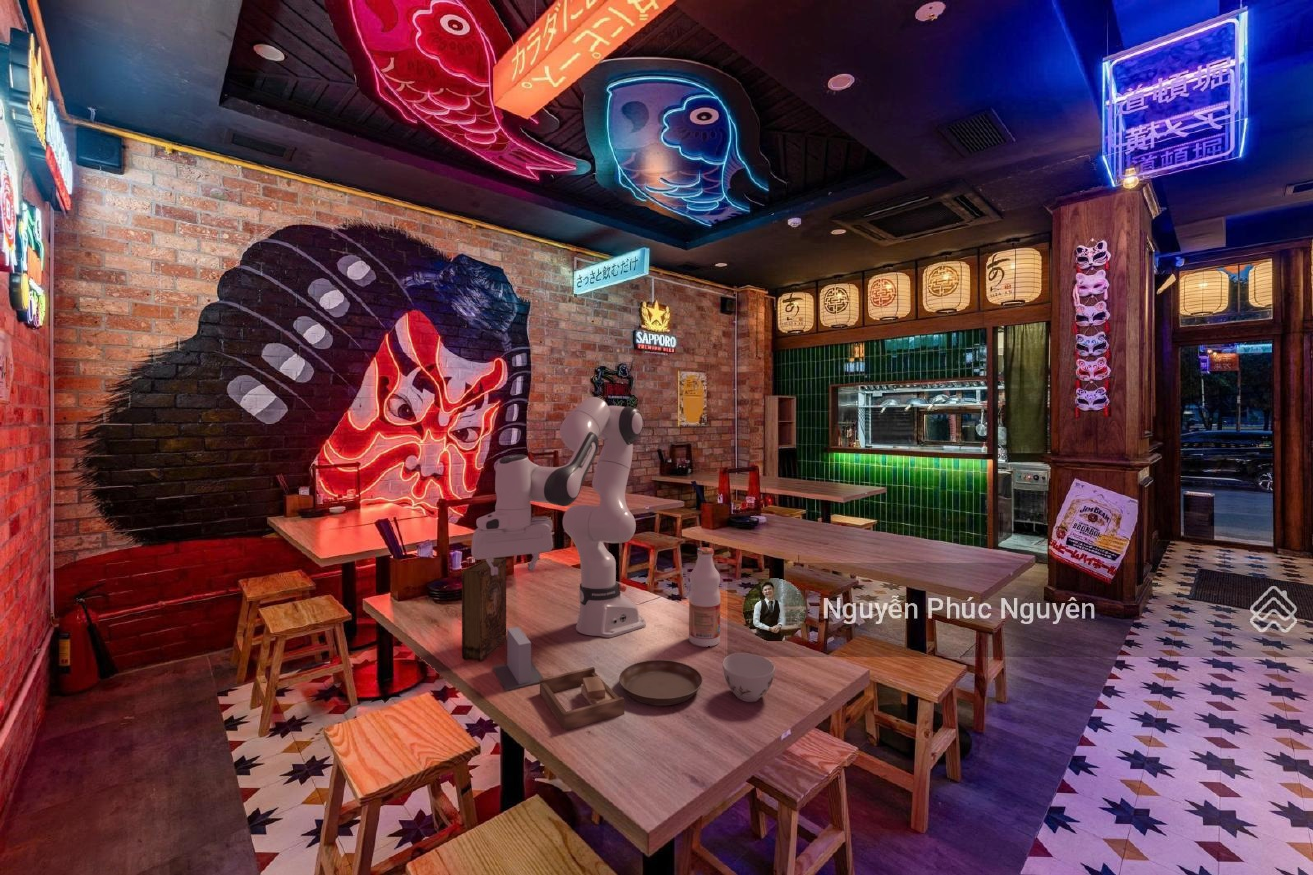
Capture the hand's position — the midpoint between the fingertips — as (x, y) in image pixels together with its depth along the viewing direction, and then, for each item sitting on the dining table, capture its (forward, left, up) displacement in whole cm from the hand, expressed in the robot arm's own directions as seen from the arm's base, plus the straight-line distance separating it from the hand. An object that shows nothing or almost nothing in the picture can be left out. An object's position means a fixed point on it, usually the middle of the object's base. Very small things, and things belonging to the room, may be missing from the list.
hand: (513, 572), depth 138 cm
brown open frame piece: (-11, +20, -27) cm, 36 cm away
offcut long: (-15, +20, -28) cm, 37 cm away
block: (-2, -1, -27) cm, 27 cm away
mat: (-2, -1, -27) cm, 27 cm away
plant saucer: (-31, +23, -28) cm, 47 cm away
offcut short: (-14, +20, -25) cm, 35 cm away
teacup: (-49, +36, -28) cm, 67 cm away
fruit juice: (-57, +4, -28) cm, 63 cm away
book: (+2, -21, -28) cm, 35 cm away
